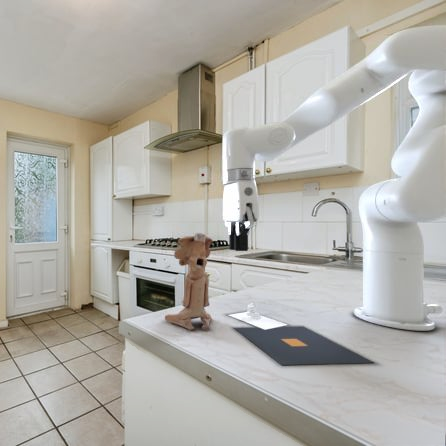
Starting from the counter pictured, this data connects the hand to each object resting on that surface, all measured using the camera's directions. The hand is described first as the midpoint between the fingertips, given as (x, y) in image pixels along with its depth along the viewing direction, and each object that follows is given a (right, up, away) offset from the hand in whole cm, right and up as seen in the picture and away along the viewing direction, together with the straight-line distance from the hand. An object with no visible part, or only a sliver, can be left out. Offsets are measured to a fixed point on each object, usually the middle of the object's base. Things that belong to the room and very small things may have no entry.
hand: (238, 249), depth 70 cm
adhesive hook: (0, -15, -8) cm, 17 cm away
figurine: (-16, -15, -11) cm, 24 cm away
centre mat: (+1, -15, -20) cm, 25 cm away
